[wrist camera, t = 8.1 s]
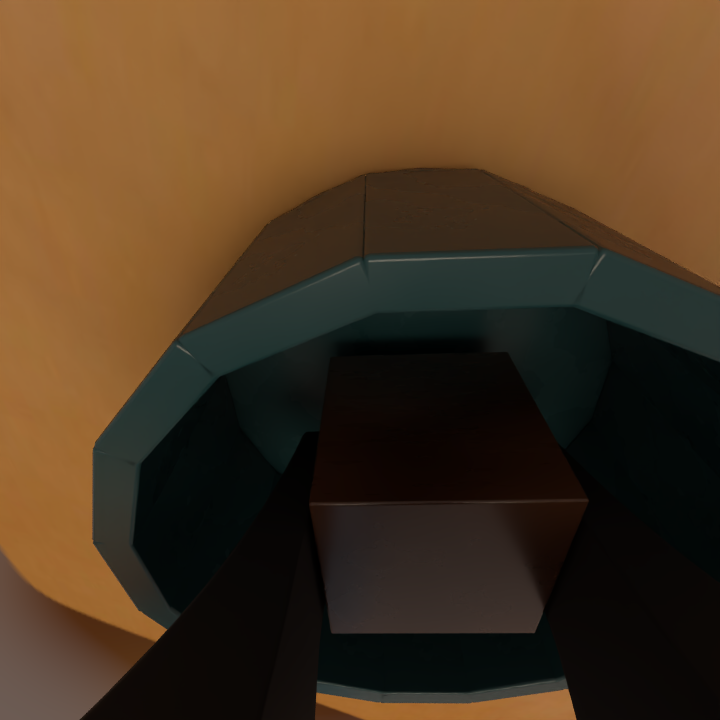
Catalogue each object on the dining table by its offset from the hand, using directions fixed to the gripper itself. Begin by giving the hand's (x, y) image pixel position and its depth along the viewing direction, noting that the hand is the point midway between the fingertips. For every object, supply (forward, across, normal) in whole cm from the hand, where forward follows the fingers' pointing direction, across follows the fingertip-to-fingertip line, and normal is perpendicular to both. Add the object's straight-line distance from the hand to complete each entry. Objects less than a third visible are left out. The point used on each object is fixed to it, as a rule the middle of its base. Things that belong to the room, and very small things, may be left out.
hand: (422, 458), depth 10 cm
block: (+1, 0, 0) cm, 1 cm away
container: (+3, 0, 0) cm, 3 cm away
